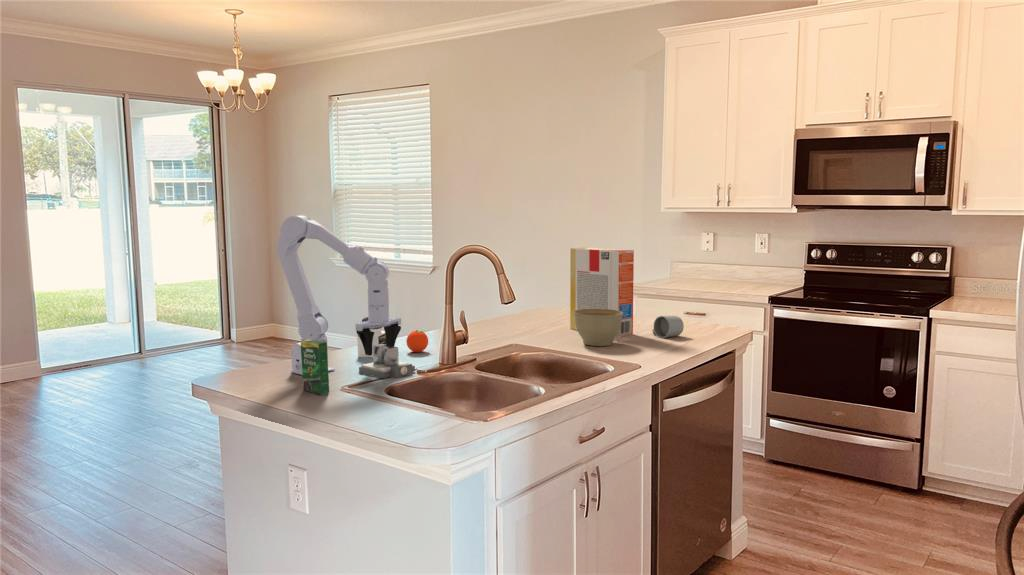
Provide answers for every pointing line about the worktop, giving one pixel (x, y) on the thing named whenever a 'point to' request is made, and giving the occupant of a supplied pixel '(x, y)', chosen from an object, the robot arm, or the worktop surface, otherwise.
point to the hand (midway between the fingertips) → (379, 352)
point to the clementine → (417, 341)
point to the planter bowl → (598, 325)
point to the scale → (387, 370)
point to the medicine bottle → (377, 339)
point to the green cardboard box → (315, 366)
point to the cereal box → (602, 283)
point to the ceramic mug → (668, 326)
